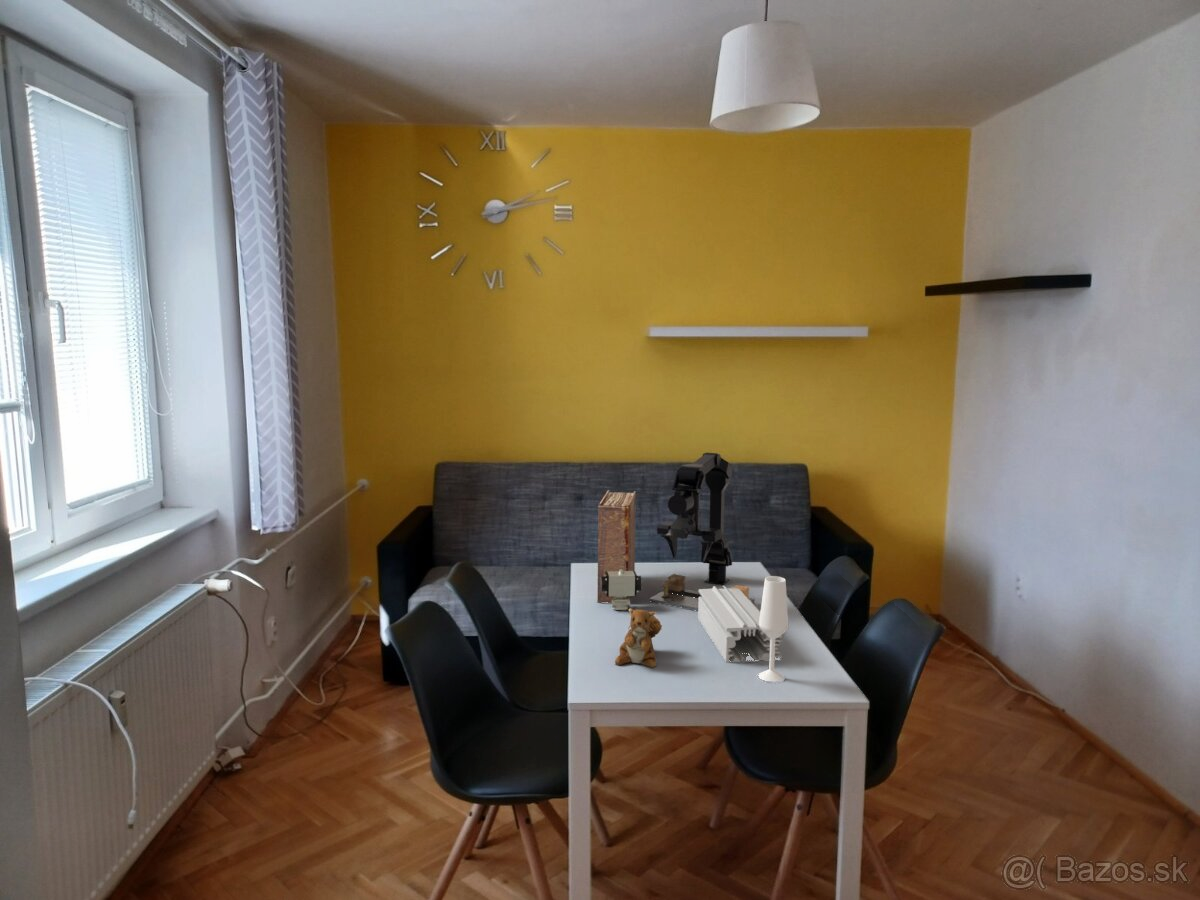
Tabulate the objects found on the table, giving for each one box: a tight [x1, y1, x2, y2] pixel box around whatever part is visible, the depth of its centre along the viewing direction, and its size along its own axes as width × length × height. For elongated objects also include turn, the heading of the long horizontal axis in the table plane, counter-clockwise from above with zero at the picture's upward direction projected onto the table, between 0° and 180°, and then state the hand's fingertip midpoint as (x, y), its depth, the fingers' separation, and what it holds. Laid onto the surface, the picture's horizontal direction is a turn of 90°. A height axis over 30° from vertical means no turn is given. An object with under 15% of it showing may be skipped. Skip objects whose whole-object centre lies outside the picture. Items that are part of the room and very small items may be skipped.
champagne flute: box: [757, 575, 789, 682], centre depth 185 cm, size 7×7×24 cm
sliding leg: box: [732, 584, 750, 599], centre depth 234 cm, size 11×4×4 cm, turn 149°
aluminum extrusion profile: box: [697, 585, 783, 663], centre depth 211 cm, size 14×31×10 cm, turn 6°
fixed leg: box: [661, 573, 686, 596], centre depth 245 cm, size 11×4×4 cm, turn 149°
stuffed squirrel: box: [614, 608, 663, 668], centre depth 197 cm, size 10×14×13 cm
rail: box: [668, 588, 755, 605], centre depth 243 cm, size 3×28×2 cm, turn 59°
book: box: [597, 489, 637, 604], centre depth 249 cm, size 25×9×30 cm, turn 173°
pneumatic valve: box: [600, 569, 643, 611], centre depth 233 cm, size 6×12×12 cm, turn 95°
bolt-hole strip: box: [649, 591, 699, 612], centre depth 238 cm, size 8×24×1 cm, turn 59°
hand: (688, 559), depth 235 cm, fingers open, 9 cm apart
